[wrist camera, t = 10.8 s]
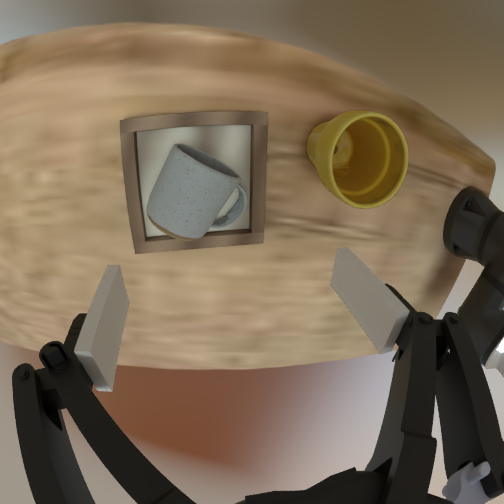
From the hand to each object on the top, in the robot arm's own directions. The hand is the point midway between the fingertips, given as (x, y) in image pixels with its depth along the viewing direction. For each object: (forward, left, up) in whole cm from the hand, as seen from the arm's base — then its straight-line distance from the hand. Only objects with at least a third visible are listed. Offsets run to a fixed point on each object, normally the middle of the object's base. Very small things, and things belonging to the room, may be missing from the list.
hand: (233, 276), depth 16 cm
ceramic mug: (+1, -1, -18) cm, 18 cm away
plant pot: (-15, -5, -19) cm, 25 cm away
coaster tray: (+2, -1, -19) cm, 19 cm away
